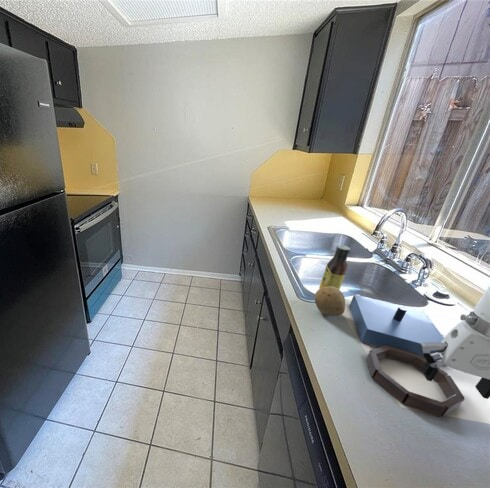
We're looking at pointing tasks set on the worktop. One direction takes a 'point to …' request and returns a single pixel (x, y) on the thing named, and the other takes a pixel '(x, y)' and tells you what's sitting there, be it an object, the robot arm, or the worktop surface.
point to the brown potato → (330, 301)
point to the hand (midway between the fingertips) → (452, 384)
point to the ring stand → (393, 325)
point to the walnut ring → (406, 396)
